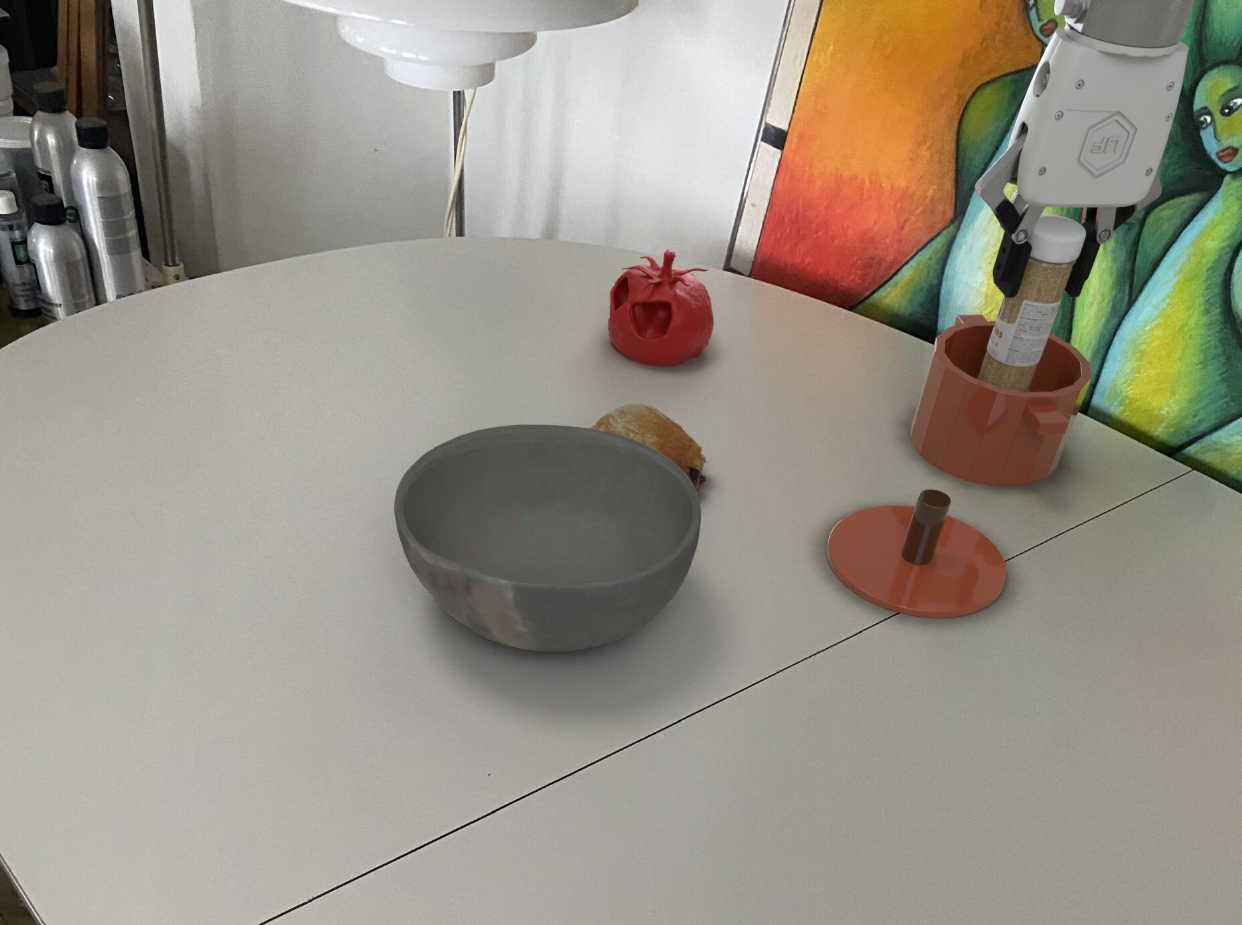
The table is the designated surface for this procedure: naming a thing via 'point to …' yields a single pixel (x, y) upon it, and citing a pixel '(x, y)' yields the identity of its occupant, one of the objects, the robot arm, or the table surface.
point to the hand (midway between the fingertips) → (1036, 287)
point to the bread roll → (656, 436)
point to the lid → (917, 559)
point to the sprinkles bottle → (1032, 304)
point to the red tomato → (660, 313)
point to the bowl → (548, 533)
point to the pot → (996, 409)
